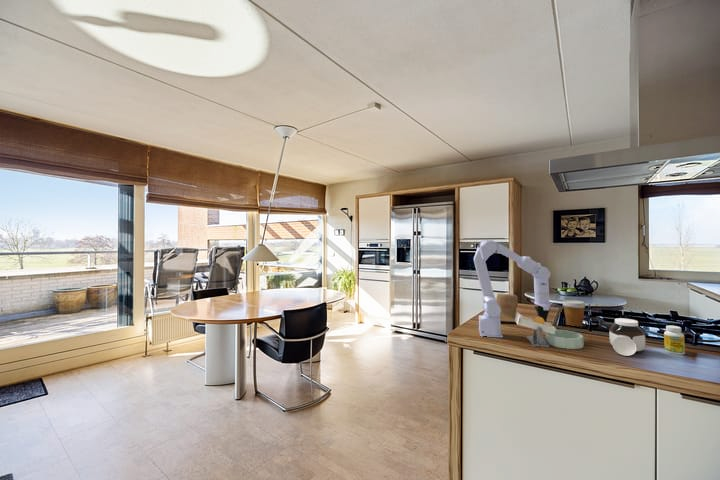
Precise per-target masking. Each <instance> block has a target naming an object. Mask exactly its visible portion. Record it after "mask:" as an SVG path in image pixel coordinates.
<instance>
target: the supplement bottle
mask: <svg viewBox="0 0 720 480" xmlns="http://www.w3.org/2000/svg"><path fill="white" fill-rule="evenodd" d="M665 329H666V330H665V331H664V333H663V338H664V339H663V342H664V351H665V352H666V353H669V354H671V355H679V356H682V355H685V354H686V344H685V342H686V341H685V334H684V333H683V332H682V327H680V326H677V325H671V324H670V325H666V326H665Z"/></svg>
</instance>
